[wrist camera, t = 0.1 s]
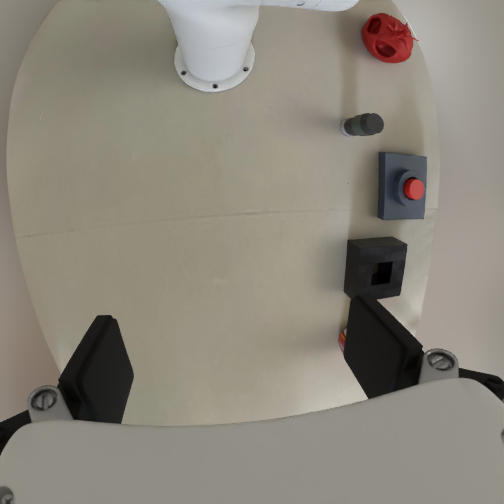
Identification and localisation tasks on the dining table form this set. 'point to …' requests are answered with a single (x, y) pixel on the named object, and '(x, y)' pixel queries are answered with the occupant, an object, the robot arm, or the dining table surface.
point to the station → (400, 186)
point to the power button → (413, 188)
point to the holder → (361, 266)
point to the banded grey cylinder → (362, 125)
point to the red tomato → (387, 38)
